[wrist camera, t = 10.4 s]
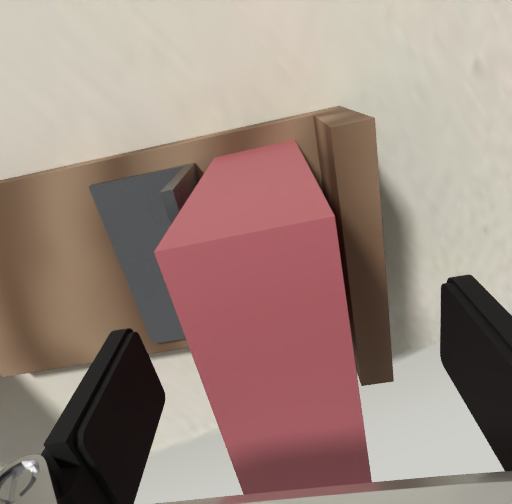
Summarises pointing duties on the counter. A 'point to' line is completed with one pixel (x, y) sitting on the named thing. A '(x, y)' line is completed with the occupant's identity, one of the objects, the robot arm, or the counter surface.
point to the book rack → (108, 267)
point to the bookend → (146, 237)
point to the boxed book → (269, 320)
